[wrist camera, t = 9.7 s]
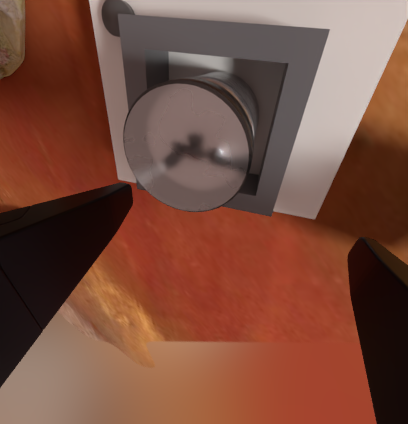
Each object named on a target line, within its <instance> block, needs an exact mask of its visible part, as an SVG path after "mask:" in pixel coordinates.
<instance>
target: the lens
mask: <svg viewBox="0 0 408 424" xmlns="http://www.w3.org/2000/svg"><path fill="white" fill-rule="evenodd" d="M258 122H259V106H258V102H257V99H256V96H255V94H254V92H253V90H252V89H251V87H250V86H249V85H248V84H247V83H246V82H245V81H244V80H243V79H241V78H240V77H238V76H237V75H235V74H232V73H229V72H221V71H217V72H211V73H208V74H204V75H200V76H197V77H185V78H178V79H174V80H169V81H166V82H162V83H159V84H156V85H154V86H152V87H150V88H149V89H147V90H146V91H144V92H143V93H142V94H141V95H140V96H139V97H138V98H137V99H136V100H135V102H134V103H133V104H132V106H131V108H130V110H129V112H128V114H127V117H126V120H125V124H124V130H123V143H124V150H125V155H126V158H127V161H128V164H129V166H130V168H131V170H132V172H133V174H134V176H135V177H136V179H137V180H138V181H139V183H140V184H141V185H142V186H143V187H144V189H145V190H147V191H148V192H149V193H150V194H151V195H152V196H153V197H155V198H156V199H157V200H159V201H161V202H162V203H164V204H166V205H168V206H170V207H173V208H175V209H179V210H183V211H189V212H204V211H209V210H213V209H216V208H219V207H221V206H223V205H225V204H226V203H228V202H229V201H231V200H232V199H233V198H234V197H235V196H236V195H237V194H238V193H239V192H240V190H241V189H242V187H243V186H244V184H245V182H246V180H247V178H248V175H249V171H250V168H251V163H252V158H253V152H254V139H255V135H256V131H257V127H258Z"/></svg>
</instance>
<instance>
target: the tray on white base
mask: <svg viewBox="0 0 408 424" xmlns="http://www.w3.org/2000/svg"><path fill="white" fill-rule="evenodd" d="M89 4H90V10H91V16H92V22H93V28H94V34H95V40H96V47H97V53H98V59H99V65H100V71H101V77H102V83H103V89H104V95H105V102H106V108H107V114H108V120H109V126H110V132H111V138H112V144H113V150H114V157H115V163H116V169H117V175H118V180H123V181H128V182H133V183H137V189H141V190H145V189H144V187H143V186H142V185H141V184H140V183H139V181H138V180H137V179H136V177H135V176H134V174H133V172H132V170H131V168H130V166H129V164H128V161H127V158H126V155H125V150H124V143H123V130H124V124H125V120H126V117H127V114H128V112H129V110H130V108H131V106H132V104H133V103H134V102H135V100H136V99H137V98H138V97H139V96H140V95H141V94H142V93H143V92H144V91H146V90H147V89H149V88H150V87H152V86H154V85H156V84H159V83H162V82H166V81H169V80H174V79H178V78H185V77H197V76H200V75H204V74H208V73H211V72H217V71H221V72H229V73H232V74H235V75H237V76H238V77H240V78H241V79H243V80H244V81H245V82H246V83H247V84H248V85H249V86H250V87H251V89H252V90H253V92H254V94H255V96H256V99H257V102H258V106H259V122H258V127H257V131H256V135H255V139H254V152H253V158H252V163H251V168H250V171H249V175H248V178H247V180H246V182H245V184H244V186H243V187H242V189H241V190H240V192H239V193H238V194H237V195H236V196H235V197H234V198H233V199H232V200H231V201H229V202H228V203H226V204H225V205H223V207H228V208H233V209H237V210H242V211H247V212H252V213H257V214H262V215H266V216H272V212H273V211H275V212H280V213H285V214H290V215H295V216H300V217H304V218H309V219H314V220H315V218H316V216H317V214H318V212H319V210H320V208H321V205H322V203H323V201H324V199H325V197H326V195H327V192H328V190H329V188H330V186H331V184H332V182H333V179H334V177H335V175H336V173H337V171H338V169H339V166H340V164H341V162H342V160H343V158H344V156H345V153H346V151H347V149H348V147H349V145H350V143H351V140H352V138H353V136H354V134H355V132H356V130H357V127H358V125H359V123H360V121H361V119H362V117H363V114H364V112H365V110H366V108H367V106H368V104H369V101H370V99H371V97H372V95H373V93H374V91H375V88H376V86H377V84H378V82H379V80H380V78H381V75H382V73H383V71H384V69H385V67H386V65H387V62H388V60H389V58H390V56H391V54H392V52H393V49H394V47H395V45H396V43H397V41H398V39H399V36H400V34H401V32H402V30H403V28H404V26H405V23H406V21H407V19H408V0H89ZM146 191H147V190H146Z"/></svg>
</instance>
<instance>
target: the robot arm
mask: <svg viewBox="0 0 408 424" xmlns="http://www.w3.org/2000/svg"><path fill="white" fill-rule="evenodd" d="M132 205H133V197H132V188H131V186H130V185H129V184H126V183H117V184H113V185H109V186H105V187H101V188H97V189H94V190H90V191H86V192H82V193H78V194H74V195H70V196H66V197H62V198H59V199H55V200H51V201H47V202H43V203H39V204H35V205H32V206H27V207H23V208H20V209H16V210H11V211H7V212H3V213H0V387H1V386H2V385H3V383H4V382H5V381H6V379H7V378H8V377H9V375H10V374H11V372H12V371H13V370H14V369H15V367H16V366H17V365H18V363H19V362H20V361H21V359H22V358H23V357H24V355H25V354H26V352H27V351H28V350H29V349H30V347H31V346H32V345H33V343H34V342H35V341H36V339H37V338H38V337H39V335H40V334H41V333H42V331H43V329H45V327H46V326H47V325H48V323H49V322H50V320H51V319H52V318H53V316H54V315H55V314H56V313H57V311H58V310H59V309H60V307H61V306H62V305H63V303H64V302H65V301H66V299H67V298H68V297H69V295H70V294H71V293H72V291H73V290H74V289H75V287H76V286H77V285H78V283H79V282H80V281H81V279H82V278H83V277H84V275H85V274H86V273H87V271H88V270H89V269H90V267H91V266H92V265H93V263H94V262H95V261H96V259H97V258H98V257H99V255H100V254H101V253H102V251H103V250H104V249H105V247H106V246H107V245H108V243H109V242H110V241H111V239H112V238H113V237H114V235H115V234H116V232H117V231H118V229H119V227H120V226H121V224H122V222H123V221H124V219H125V217H126V216H127V214H128V212H129V210H130V209H131V207H132ZM348 272H349V285H350V296H351V301H352V306H353V311H354V316H355V321H356V326H357V330H358V335H359V340H360V345H361V349H362V355H363V359H364V364H365V369H366V374H367V379H368V384H369V388H370V392H371V398H372V403H373V408H374V413H375V417H376V422H377V424H408V265H407V264H405V263H404V262H403V261H401V260H400V259H399V258H398V257H396V256H395V255H394V254H392V253H391V252H390V251H388V250H387V249H386V248H385V247H383V246H382V245H381V244H379V243H378V242H377V241H375V240H374V239H370V238H365V237H360V238H359V239H358V240H357V241H356V243H355V244H354V246H353V247H352V249H351V250H350V252H349V254H348Z"/></svg>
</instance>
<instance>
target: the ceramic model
mask: <svg viewBox="0 0 408 424" xmlns="http://www.w3.org/2000/svg"><path fill="white" fill-rule="evenodd" d="M24 56H25V0H0V79H2V78H3V77H7V76H10V75H11V74H12V73H14V71H15V70H17V68H18V67H19V66H20V65H21V64H22V62H23V60H24Z"/></svg>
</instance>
